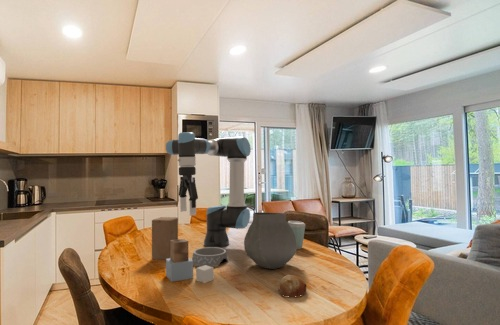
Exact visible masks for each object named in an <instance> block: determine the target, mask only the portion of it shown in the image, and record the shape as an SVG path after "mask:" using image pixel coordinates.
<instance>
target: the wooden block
mask: <svg viewBox="0 0 500 325" xmlns="http://www.w3.org/2000/svg"><path fill="white" fill-rule="evenodd" d="M177 239H179V218H178V217H176V216H175V217H171V216H170V217H169V216H162V217H157V218H154V219H151V259H152V260H154V261H155V260H157V261H158V260H161V261H166V259H169V258H170V240H177Z"/></svg>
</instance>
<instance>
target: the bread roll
mask: <svg viewBox="0 0 500 325" xmlns="http://www.w3.org/2000/svg"><path fill="white" fill-rule="evenodd" d="M278 291H279V292H280V293H281V294H282V295H284V296H289V297H288V298H290V297H294V298H296V297H295V296H300V295H303V296H304V295H305V294H306V292H307V284H306V282H305V281H304V279H302V278H301V277H299V276H297V275H292V274H287V275H284V276H283V277H282V278H281V279H280V281H279V285H278V290H277V292H278ZM279 292H278V293H279ZM280 293H279V294H280ZM281 294H280V295H281ZM284 296H283V297H284ZM300 297H301V296H300Z"/></svg>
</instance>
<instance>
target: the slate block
mask: <svg viewBox="0 0 500 325" xmlns="http://www.w3.org/2000/svg"><path fill="white" fill-rule="evenodd" d="M188 258H189V261H183V262H176V263H174V262H173V261H172V260H171V259H170V258H169V259H166V260H165V275H166V277H167V278H168V280H169V281H170V282H172V283H174V282H178V281H183V280H191V279H194V265H193V261H192V258H190V257H189V256H188Z"/></svg>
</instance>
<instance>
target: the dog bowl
mask: <svg viewBox="0 0 500 325" xmlns="http://www.w3.org/2000/svg"><path fill="white" fill-rule="evenodd" d="M191 260H192V261H193V266H196V267H201V266H204V265H207V266H210V267H219V266H220V264H221V263H222V262H223V261H224V260H226V261H227V262H228V263H229V259H228V254H227V250H226V249H225V248H222V247H208V246H205V247H201V248H196V249H195V250H194V251H193V252H192V257H191Z"/></svg>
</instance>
